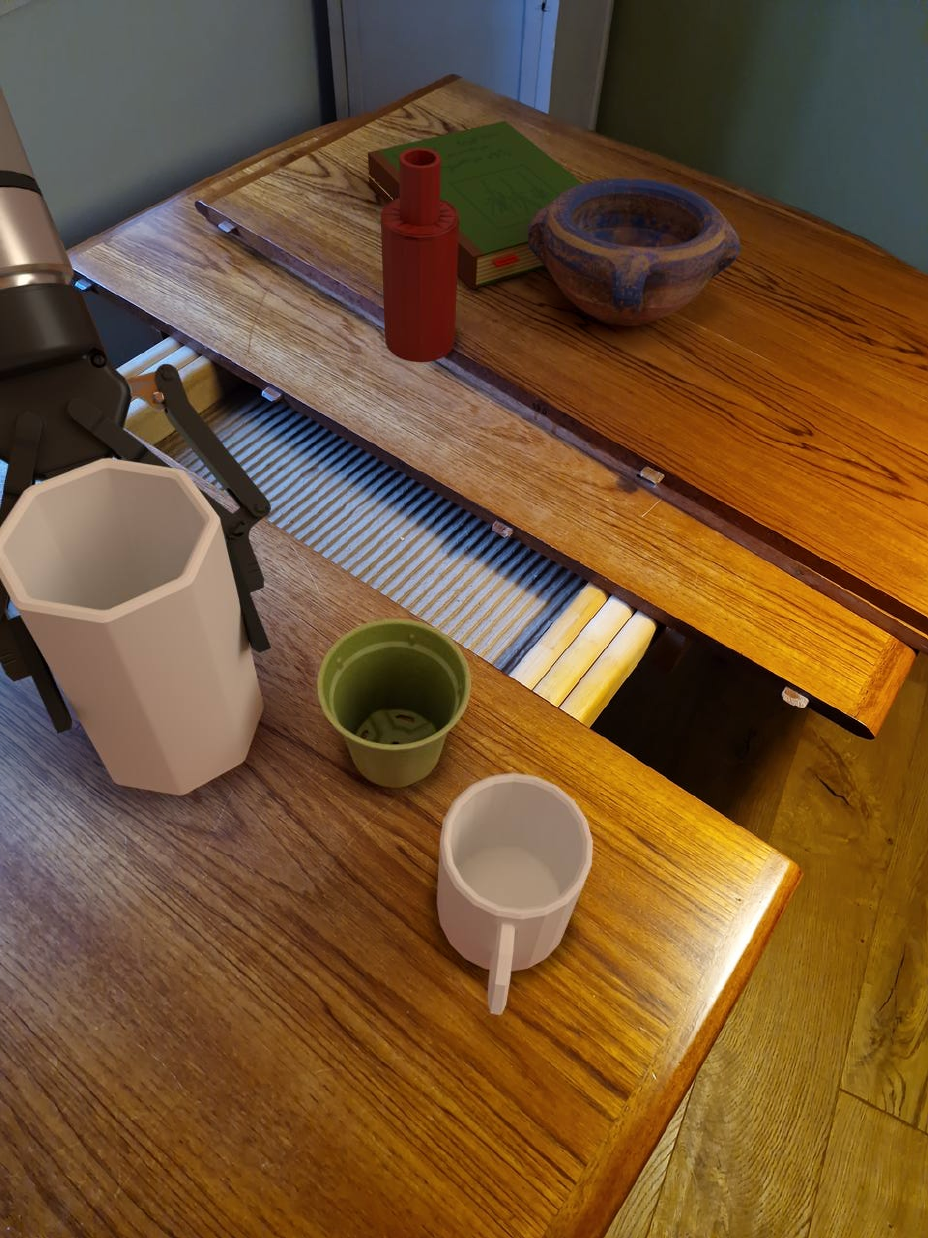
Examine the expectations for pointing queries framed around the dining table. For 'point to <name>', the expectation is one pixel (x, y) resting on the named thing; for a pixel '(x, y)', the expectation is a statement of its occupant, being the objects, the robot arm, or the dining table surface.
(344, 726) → the plant pot
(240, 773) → the dining table surface
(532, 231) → the bowl
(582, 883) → the mug
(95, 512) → the cup
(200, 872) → the dining table surface
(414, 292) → the sauce bottle
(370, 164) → the book
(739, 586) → the dining table surface
